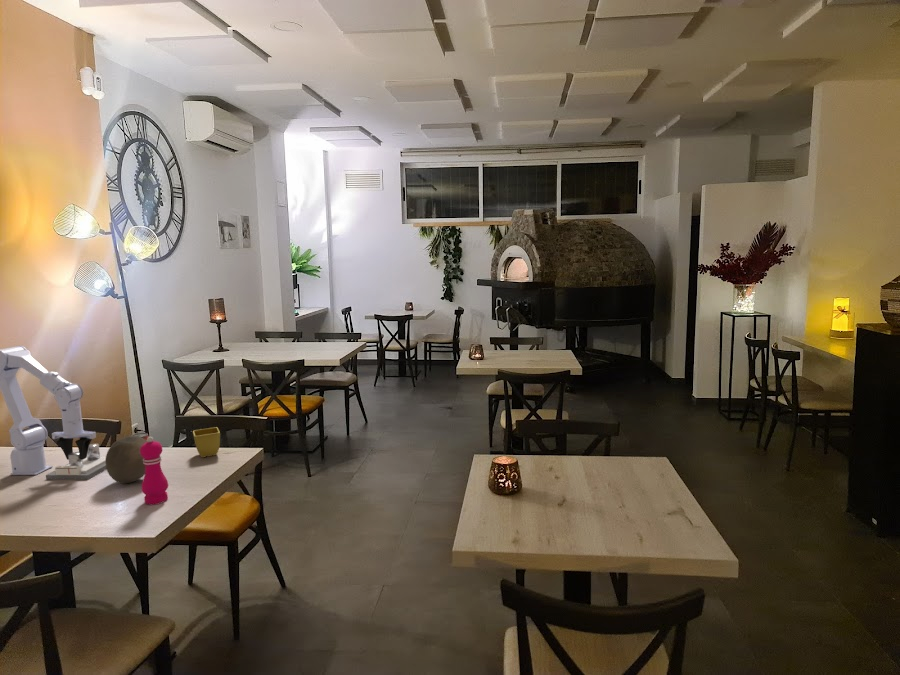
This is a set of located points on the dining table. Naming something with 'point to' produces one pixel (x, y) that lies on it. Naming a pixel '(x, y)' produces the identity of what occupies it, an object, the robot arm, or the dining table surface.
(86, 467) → the scale
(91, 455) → the cylinder
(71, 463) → the cylinder
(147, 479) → the pepper mill
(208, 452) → the flower pot
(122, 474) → the cantaloupe
